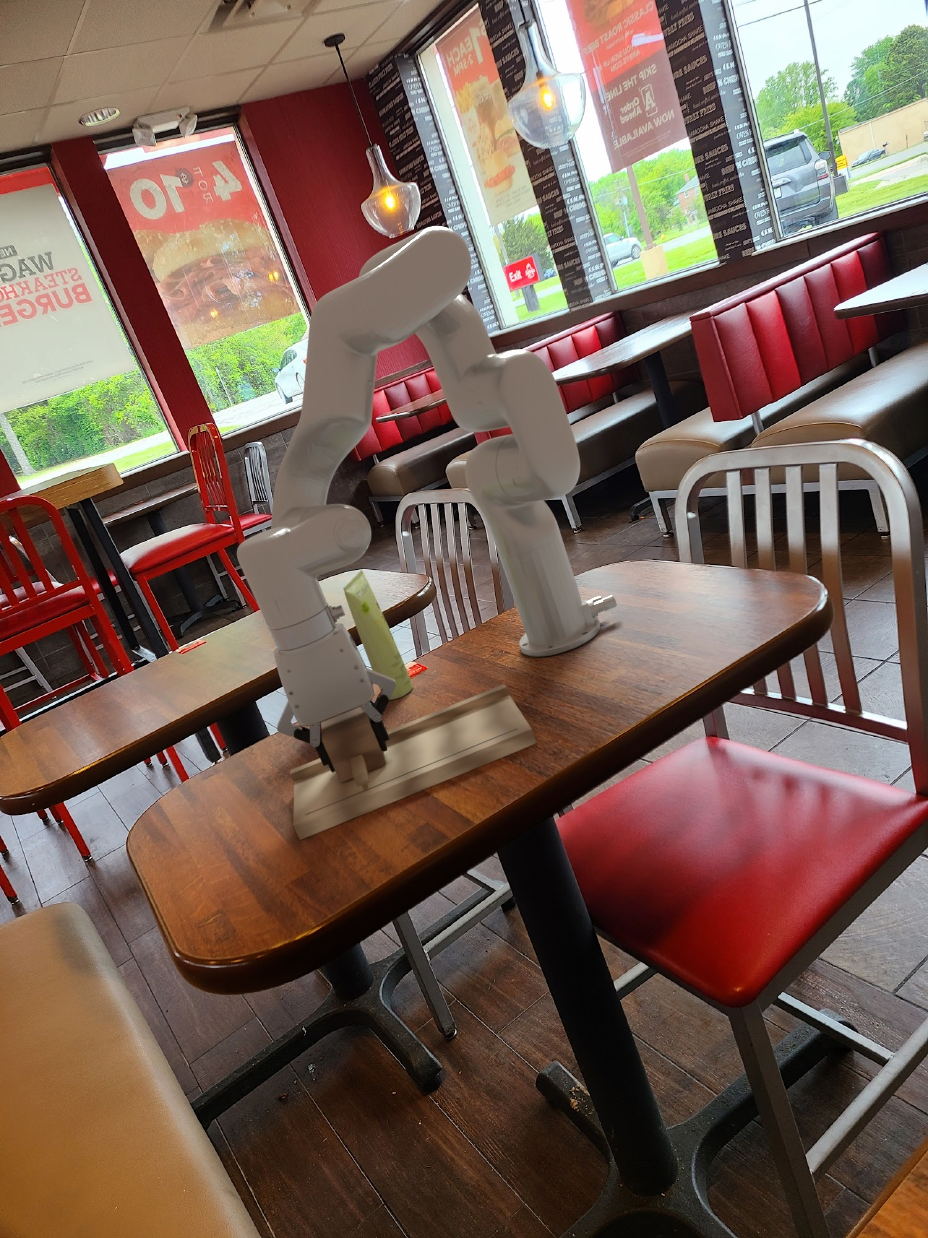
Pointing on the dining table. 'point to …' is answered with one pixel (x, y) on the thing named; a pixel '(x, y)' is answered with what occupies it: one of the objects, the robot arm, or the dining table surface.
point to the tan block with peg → (352, 746)
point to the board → (414, 760)
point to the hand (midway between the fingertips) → (358, 756)
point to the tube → (376, 634)
